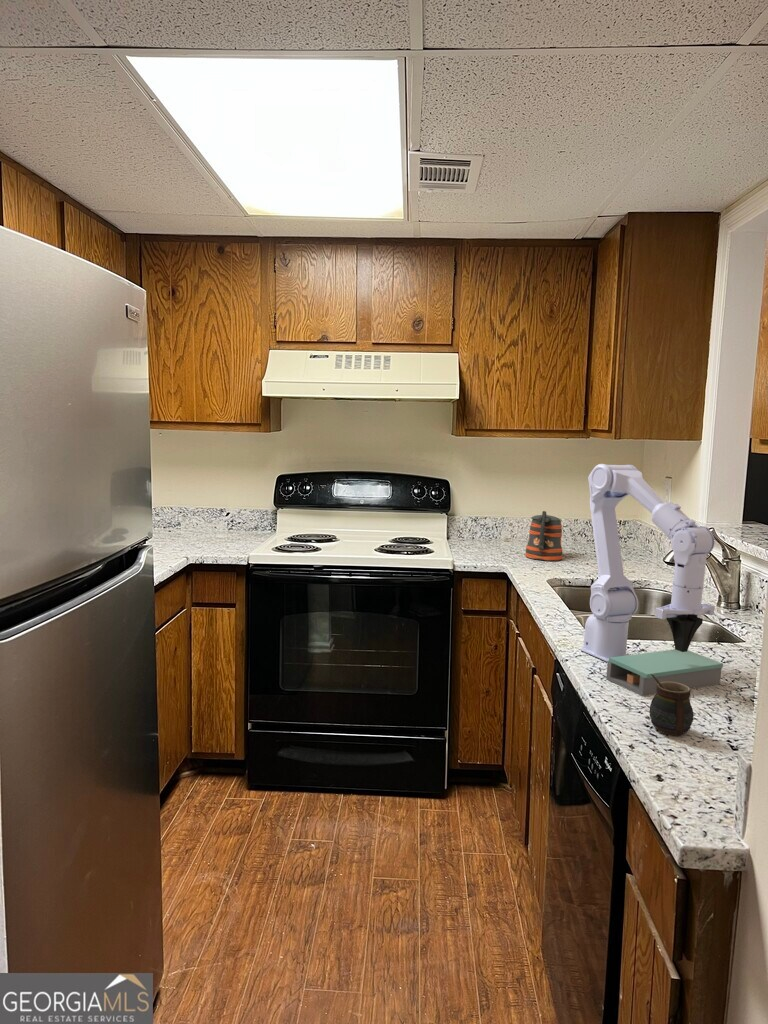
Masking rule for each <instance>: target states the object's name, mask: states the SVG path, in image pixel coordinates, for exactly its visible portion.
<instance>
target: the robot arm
mask: <svg viewBox="0 0 768 1024" xmlns="http://www.w3.org/2000/svg"><path fill="white" fill-rule="evenodd" d="M587 479H588V480H587V481H588V486H589V488H588V489H589V509H590V515H591V516H590V517H591V524H592V532H593V541H594V547H595V548H594V549H595V556H596V563H597V571H598V578H597V579H596V580H595V582H593V583H592V584H591V586H590V598H589V607H590V610H591V613H592V614H591V615H589V616H588V617H587V619H586V621H585V624H584V632H583V634H584V635H583V643H582V644H583V645H582V646H583V647H581V648H580V649H579V650H580V651H582V652H584V653H585V654H589V655H591V656H592V657H595V658H597V659H600V660H602V661H604V662H607V663H608V662H609V658H610V657H618V656H626V655H629V654H627V644H628V635H629V623H630V621H631V620H632V618H633V617H632V616H633V615H635V614H636V613H637V611H638V609H639V599H638V596H637V593H636V592H635V589H634V584H633V582H632V581H631V580H630V579H629V578H628V577H627V576H625V574H624V567H623V560H622V551H621V545H620V544H621V543H620V536H619V530H618V529H619V528H618V521H617V520H618V519H617V514H616V507H617V506H618V504H620V502H622V501H623V500H624V499H625V498H626V497H628V496H629V495H630V497H632V498H633V499H635V501H637V502H638V503H639V504H640V505H642V506H643V508H645V509H646V510H647V511H648V512H649V513H651V521H652V523H653V524H654V525H655V526H656V527H657V528H658V530H660V531H661V532H662V533H663V534H664V535H665V536H666V537H667V538H668V539H669V540H670V547H671V550H672V551H673V560H674V571H673V580H672V587H671V601H670V603H669V604H666V605H663V606H660V607H659V606H658V607H655V612H654V613H655V614H654V618H657V619H660V620H667V623H668V625H669V628H670V630H671V633H672V638H673V645H674V650H675V649H676V650H678V651H681V652H687V650H689V647H690V646H691V642H692V641H693V638H694V636H695V634H696V632H697V631H698V629H700V627H701V626H702V624H703V623H704V621H703V618H702V617H700V616H704V615H709V616H714V615H715V605H713V604H709V603H703V602H702V599H703V592H704V585H705V584H704V583H705V582H704V581H705V574H706V565H707V556H708V554H710V553H711V552H712V551H713V549H714V548H715V542H716V540H715V536H714V534H713V533H712V531H711V530H710V528H709V527H706V526H705V525H702V526H701V525H700V526H699V525H698V524H696V520H694V519H690V518H689V516H688V515H687V514H685V513H684V512H683V510H681V509H682V507H681V506H680V505H679V504H678V503H673V502H665V501H664V500H663V499H662V498H661V497H660V495H659V494H657V493H656V492H655V490H654V489H653V488H652V487H651V486H650V485H649V484H648V483H647V482H646V480H645V479H644V477H643V472H641V471H640V470H638V468H637V467H636V466H635V465H632V464H623V465H622V464H620V465H619V464H605V463H599V464H597V465H595V466H594V468H593V469H592V470H591V472H590V473H589V475H588V477H587Z"/></svg>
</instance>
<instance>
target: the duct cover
mask: <svg viewBox="0 0 768 1024" xmlns="http://www.w3.org/2000/svg"><path fill="white" fill-rule="evenodd" d="M609 662H611V663H613V664H616V665H618V666H620V667H622V668H625V669H627V670H629V671H631V672H633V673H636V674H638V675H640V676H642V677H645V678H652V675H654V676H655V677H659V676H666V675H673V674H680V673H687V672H694V671H701V670H708V669H715V668H723V667H724V663H722V662H721V661H717V660H715V659H713V658H709V657H707V656H704V655H701V654H698V653H697V652H694V651H691V650H689V649H688V650H687V652H681V651H678V650H676V649H675V648H674V649H668V650H659V651H651V652H643V653H642V652H641V653H636V654H635V653H634V654H628V655H626V656H618V657H610V658H609ZM651 674H652V675H651Z"/></svg>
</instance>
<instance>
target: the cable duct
mask: <svg viewBox="0 0 768 1024" xmlns="http://www.w3.org/2000/svg"><path fill="white" fill-rule="evenodd" d="M722 668H723V667H722ZM722 668H715V669H708V670H701V671H694V672H687V673H680V674H673V675H666V676H659V677H656V679H658V681H659V682H665V681H670V682H677V683H681V684H684V685H686V686H688V687H689V688H690V689H696V688H697V689H699V688H704V687H709V686H715V685H720V684H721V678H722ZM605 677H606V678H605V680H607V681H608V682H610V683H613V684H615V685H617V686H619V687H622V688H624V689H626V690H628V691H631V692H632V693H633V694H637V695H638V696H641V697H646V696H647V697H648V696H652V695H654V696H655V695H656V693H657V692H656V689H657V684H658V683H657V682H656V681H655V679H654V678H653V677H652V678H645V677H642V676H640V675H638V674H636V673H633V672H631V671H629V670H627V669H625V668H622V667H620V666H618V665H616V664H613V663H611V662H607V667H606V676H605Z"/></svg>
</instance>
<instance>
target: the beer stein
mask: <svg viewBox="0 0 768 1024" xmlns="http://www.w3.org/2000/svg"><path fill="white" fill-rule="evenodd" d="M530 519H531V522H530V527H529V532H528V533H529V534H528V541H527V544H526V547H525V548H526V549H525V557H526V558H528V559H532V560H537V561H547V562H551V561H552V562H557V561H561V560H563V547H562V537H563V527H562V526H563V525H562V519H560V518H558V517H556V516H553V515H550V514H549V515H548V514H547V511H546V510H543V511H542V513H541V514H537V515H533V516H531V517H530Z"/></svg>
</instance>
